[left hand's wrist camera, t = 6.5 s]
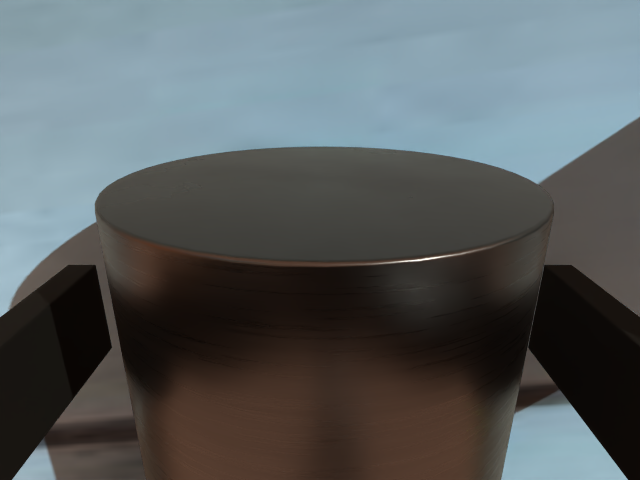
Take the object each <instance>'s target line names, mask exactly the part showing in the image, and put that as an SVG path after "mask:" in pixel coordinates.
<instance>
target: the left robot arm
mask: <svg viewBox="0 0 640 480" xmlns="http://www.w3.org/2000/svg"><path fill="white" fill-rule="evenodd" d="M111 348H112V345H111V340H110V335H109V330H108V325H107V320H106V315H105V310H104V305H103V300H102V295H101V290H100V285H99V280H98V275H97V270H96V265H68V266H67V267H65V268H64V269H63V270H61V271H60V272H59V273H58V274H56V275H55V276H54V277H52V278H51V279H50V280H48V281H47V282H46V283H44V284H43V285H42V286H41V287H39V288H38V289H37V290H35V291H34V292H33V293H31V294H30V295H29V296H28V297H26V298H25V299H24V300H22V301H21V302H20V303H18V304H17V305H16V306H14V307H13V308H12V309H11V310H9V311H8V312H7V313H5V314H4V315H3V316H1V317H0V480H12V479H13V478H14V476H15V475H16V474H17V472H18V471H19V470H20V468H21V467H22V466H23V464H24V463H25V462H26V460H27V459H28V458H29V456H30V455H31V454H32V452H33V451H34V450H35V448H36V447H37V446H38V444H39V443H40V442H41V441H42V439H43V438H44V437H45V435H46V434H47V433H48V431H49V430H50V429H51V427H52V426H53V425H54V423H55V422H56V421H57V419H58V418H59V417H60V415H61V414H62V413H63V411H64V410H65V409H66V407H67V406H68V405H69V404H70V402H71V401H72V400H73V398H74V397H75V396H76V394H77V393H78V392H79V390H80V389H81V388H82V386H83V385H84V384H85V382H86V381H87V380H88V378H89V377H90V376H91V374H92V373H93V372H94V370H95V369H96V368H97V367H98V365H99V364H100V363H101V361H102V360H103V359H104V357H105V356H106V355H107V353H108V352H109V351H110V349H111ZM528 348H529V349H530V351H531V352H532V353H533V355H534V356H535V357H536V359H537V360H538V361H539V363H540V364H541V365H542V366H543V368H544V369H545V370H546V372H547V373H548V374H549V376H550V377H551V378H552V380H553V381H554V382H555V384H556V385H557V386H558V388H559V389H560V390H561V392H562V393H563V394H564V396H565V397H566V398H567V400H568V401H569V402H570V403H571V405H572V406H573V407H574V409H575V410H576V411H577V413H578V414H579V415H580V417H581V418H582V419H583V421H584V422H585V423H586V425H587V426H588V427H589V429H590V430H591V431H592V433H593V434H594V435H595V437H596V438H597V439H598V441H599V442H600V443H601V444H602V446H603V447H604V448H605V450H606V451H607V452H608V454H609V455H610V456H611V458H612V459H613V460H614V462H615V463H616V464H617V466H618V467H619V468H620V470H621V471H622V472H623V474H624V475H625V476H626V478H627V479H628V480H640V317H639V316H637V315H636V314H635V313H633V312H632V311H631V310H629V309H628V308H627V307H626V306H624V305H623V304H622V303H620V302H619V301H618V300H616V299H615V298H614V297H613V296H611V295H610V294H609V293H607V292H606V291H605V290H603V289H602V288H601V287H599V286H598V285H597V284H596V283H594V282H593V281H592V280H590V279H589V278H588V277H586V276H585V275H584V274H582V273H581V272H580V271H579V270H577V269H576V268H575V267H573V266H572V265H544V270H543V275H542V280H541V285H540V290H539V295H538V300H537V305H536V310H535V315H534V320H533V325H532V330H531V335H530V340H529V345H528Z"/></svg>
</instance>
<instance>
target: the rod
mask: <svg viewBox="0 0 640 480" xmlns="http://www.w3.org/2000/svg"><path fill="white" fill-rule="evenodd" d="M95 215H96V220H97V225H98V230H99V236H100V241H101V246H102V251H103V257H104V262H105V267H106V272H107V278H108V283H109V288H110V293H111V299H112V304H113V309H114V314H115V320H116V325H117V330H118V335H119V341H120V346H121V351H122V356H123V362H124V367H125V372H126V377H127V383H128V388H129V393H130V398H131V404H132V409H133V414H134V419H135V425H136V430H137V435H138V440H139V446H140V451H141V456H142V461H143V467H144V472H145V477H146V480H501V477H502V472H503V467H504V462H505V457H506V452H507V447H508V442H509V437H510V432H511V427H512V422H513V417H514V412H515V407H516V402H517V397H518V392H519V386H520V381H521V376H522V371H523V366H524V361H525V356H526V351H527V346H528V341H529V336H530V331H531V326H532V321H533V316H534V311H535V306H536V301H537V296H538V290H539V285H540V280H541V275H542V270H543V265H544V260H545V255H546V250H547V245H548V240H549V235H550V230H551V225H552V220H553V215H554V203H553V201H552V199H551V197H550V195H549V194H548V193H547V192H546V191H545V190H544V189H543V188H542V187H541V186H539V185H537V184H536V183H534V182H532V181H531V180H529V179H527V178H524V177H522V176H520V175H518V174H515V173H513V172H510V171H507V170H504V169H501V168H498V167H494V166H491V165H487V164H483V163H479V162H475V161H470V160H466V159H460V158H455V157H450V156H443V155H437V154H429V153H422V152H413V151H403V150H392V149H378V148H359V147H286V148H267V149H253V150H242V151H232V152H224V153H216V154H209V155H202V156H196V157H191V158H185V159H180V160H175V161H171V162H167V163H163V164H159V165H155V166H152V167H148V168H145V169H142V170H140V171H137V172H134V173H131V174H129V175H127V176H125V177H123V178H120V179H118V180H116V181H115V182H113V183H112V184H110V185H108V186H107V187H106V188H105V189H104V190H103V191H102V192H101V193H100V194H99V196H98V198H97V200H96V202H95Z"/></svg>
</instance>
